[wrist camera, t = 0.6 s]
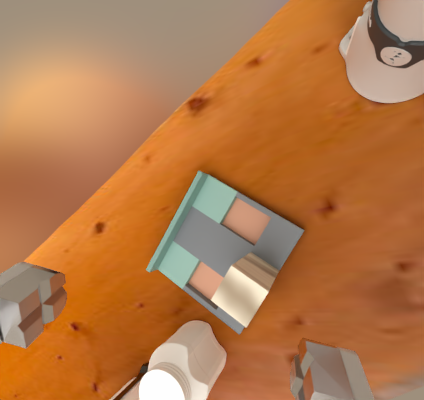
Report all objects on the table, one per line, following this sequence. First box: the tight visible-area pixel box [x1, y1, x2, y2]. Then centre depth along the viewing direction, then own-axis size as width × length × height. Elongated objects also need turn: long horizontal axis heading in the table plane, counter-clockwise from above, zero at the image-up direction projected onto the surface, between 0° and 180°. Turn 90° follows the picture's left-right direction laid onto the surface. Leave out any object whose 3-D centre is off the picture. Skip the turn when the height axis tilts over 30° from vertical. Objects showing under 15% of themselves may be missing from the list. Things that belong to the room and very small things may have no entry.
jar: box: [139, 320, 227, 400], centre depth 46 cm, size 12×10×15 cm
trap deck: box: [146, 171, 304, 335], centre depth 50 cm, size 23×22×5 cm
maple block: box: [211, 252, 279, 327], centre depth 41 cm, size 6×6×13 cm
